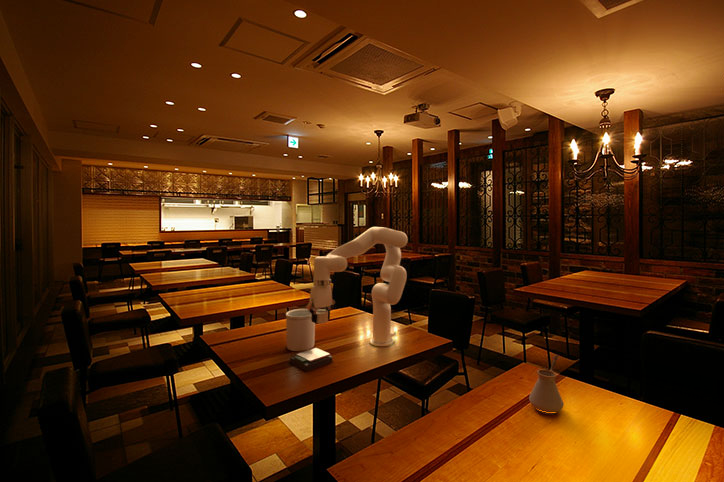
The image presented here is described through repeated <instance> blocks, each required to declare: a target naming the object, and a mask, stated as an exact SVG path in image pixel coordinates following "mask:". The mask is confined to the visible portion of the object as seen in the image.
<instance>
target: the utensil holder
mask: <svg viewBox="0 0 724 482" xmlns="http://www.w3.org/2000/svg"><path fill="white" fill-rule="evenodd" d="M311 317H312V314H311V313H310V312H309V311H308V309H307V308H297V309H291V310H288V311H287V312H286V313H285V323H286V325H285V327H286V349H287V350H289V351H292V352H304V351H308V350H311V349H313V348H315V340H316V339H315V337H316V323H314V322H312V320H311Z"/></svg>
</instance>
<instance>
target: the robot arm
mask: <svg viewBox="0 0 724 482" xmlns="http://www.w3.org/2000/svg"><path fill="white" fill-rule="evenodd" d="M408 242H409V238H408V236H407V234H406V233H405V232H403V231H400V230H395V229H393V228H388V227H383V226H372V227H370V228H368V229H367V230H366V231H364V232H363V233H361V234H360V235H359V236H357V237H355V238H354V239H353V240H350V241H348V242H346V243H344V244H342V245H340V246H338V247H336V248H335V249H333V250H332V251H330V252H328V253H327V254H326V255H324V256H322V255H321V256H316V257H314V259H313V285H312V286H311V288H310V293H309V302H308V303H307V305H306V306H305V309H308V311H309V312H310V313H311V314H312V317H311V320H312V322H314V323H315V324H317V314H316V312H317V310H319V309H321V308H325V309H324V310H328V321H329V320H330V319H331V312H332V309H333V307H334V305H335V304H336V301H335V299H333V293H332V287H331V286H332V285H331V283H332V279H331V272H335V273H340V272H344V271H345V270H346V269H347V267H348V265H349V264H348V260H347V259H348V258H349V259H350V258H352V257H358V256H361V255H363V254H365V253H367V251H369V250H370V249H371V248H373V247H374V246H375V245H377V244H380V245H381V244H382V245H383V246H384V248H385V257H384V260H383V263H382V266H381V268H380V269H381V270H380V274H379V277H380V278H381V280H383V281H384V282H378V283H376V284H374V285H373V287H372V289H371V300H372V338H370V339H369V344H371V345H372V346H374V347H388V346H392V345H393V344H394V339H393V337H395V336H397V332H396V331H393V332H391V331H392V330H391V328H392V327H391V326H392V324H391V323H392V307H391V306H393V305H396V304H398V303H399V301H401V298H402V295H403V291H404V289H405V285H406V282H407V277H408V276H407V275H408V274H407V270H406V268H404V267H403V266H402V265H401V260H402V249H401V248H405V247H406V246H407V244H408ZM385 282H387V283H385Z"/></svg>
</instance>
